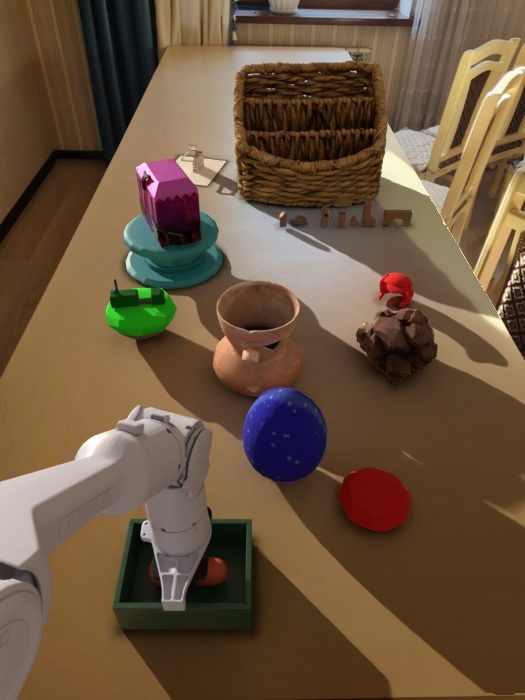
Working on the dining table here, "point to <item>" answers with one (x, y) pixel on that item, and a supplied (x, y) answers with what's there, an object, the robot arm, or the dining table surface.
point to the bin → (201, 604)
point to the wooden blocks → (366, 216)
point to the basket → (309, 132)
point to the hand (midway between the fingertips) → (188, 571)
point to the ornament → (284, 435)
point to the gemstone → (375, 499)
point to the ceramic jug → (257, 338)
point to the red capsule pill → (214, 575)
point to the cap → (397, 286)
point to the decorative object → (170, 230)
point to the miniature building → (139, 311)
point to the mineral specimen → (398, 342)
